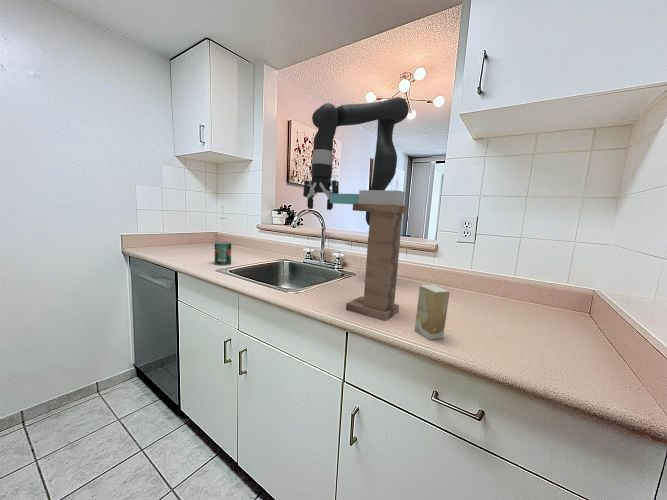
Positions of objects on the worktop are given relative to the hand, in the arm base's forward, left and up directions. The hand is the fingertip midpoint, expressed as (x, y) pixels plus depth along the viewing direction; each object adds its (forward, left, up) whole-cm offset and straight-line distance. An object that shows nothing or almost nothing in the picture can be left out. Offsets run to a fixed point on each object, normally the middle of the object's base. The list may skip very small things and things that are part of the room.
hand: (319, 209), depth 103 cm
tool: (+8, +22, +2) cm, 23 cm away
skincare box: (+14, +46, -30) cm, 57 cm away
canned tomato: (-2, -60, -30) cm, 67 cm away
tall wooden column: (+8, +28, -30) cm, 42 cm away
